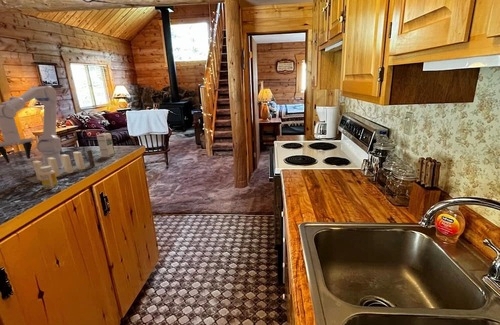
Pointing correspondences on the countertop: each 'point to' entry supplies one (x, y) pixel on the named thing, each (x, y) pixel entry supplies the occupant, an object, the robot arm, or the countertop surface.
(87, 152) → the domino
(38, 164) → the domino
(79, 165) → the domino
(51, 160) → the domino
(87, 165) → the mat
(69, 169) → the domino
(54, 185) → the supplement bottle
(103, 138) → the syrup box
